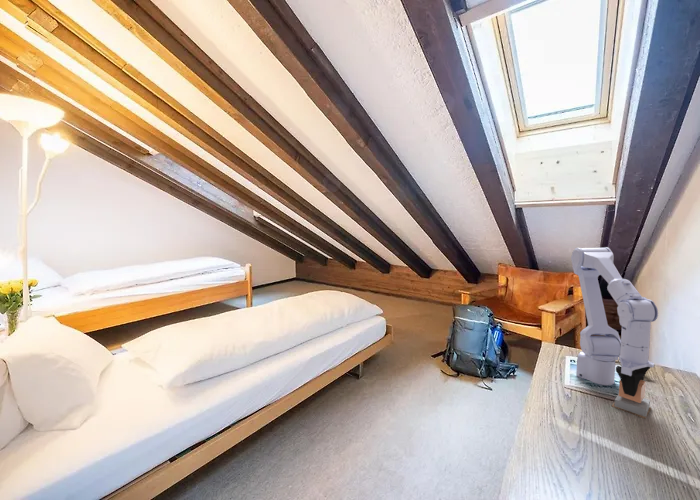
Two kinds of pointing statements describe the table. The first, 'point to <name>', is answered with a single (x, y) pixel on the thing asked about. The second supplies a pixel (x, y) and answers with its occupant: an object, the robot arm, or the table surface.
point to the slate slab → (633, 405)
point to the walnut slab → (631, 412)
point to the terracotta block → (639, 394)
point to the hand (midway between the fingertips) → (631, 391)
